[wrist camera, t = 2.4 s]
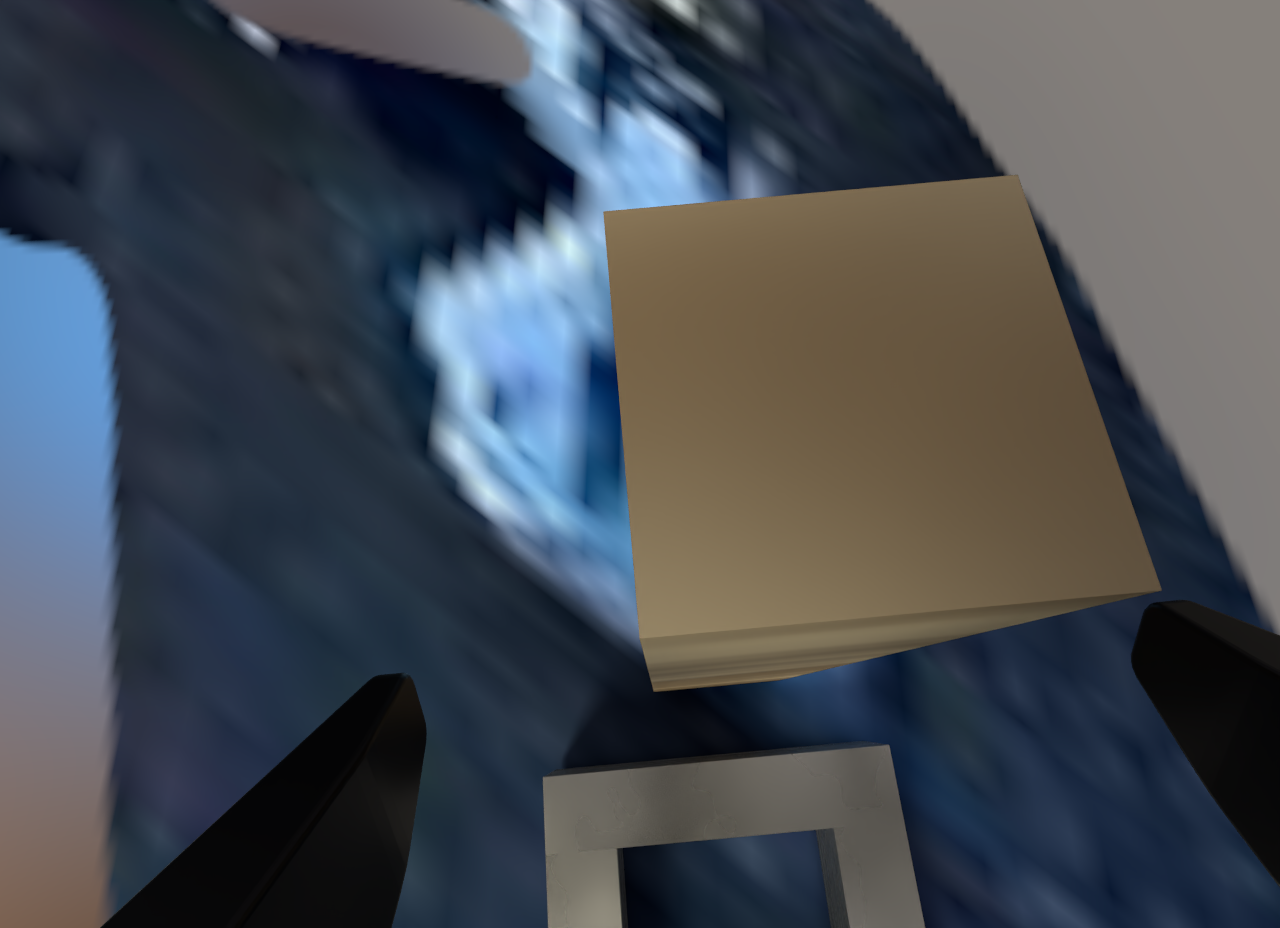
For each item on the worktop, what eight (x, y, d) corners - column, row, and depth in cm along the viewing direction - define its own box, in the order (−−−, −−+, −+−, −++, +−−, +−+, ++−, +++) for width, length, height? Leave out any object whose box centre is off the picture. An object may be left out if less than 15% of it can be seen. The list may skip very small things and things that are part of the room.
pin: (779, 680, 17) (1160, 590, 4) (654, 692, 17) (640, 638, 4) (760, 556, 18) (1018, 174, 5) (642, 567, 18) (603, 210, 5)
